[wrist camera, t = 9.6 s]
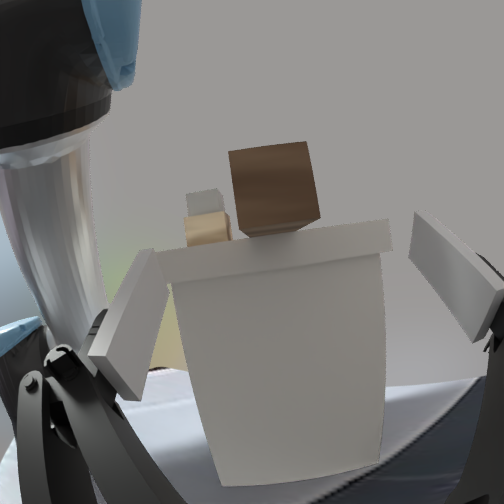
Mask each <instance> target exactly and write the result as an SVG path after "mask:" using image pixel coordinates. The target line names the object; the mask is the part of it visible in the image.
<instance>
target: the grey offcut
mask: <svg viewBox="0 0 504 504" xmlns="http://www.w3.org/2000/svg"><path fill="white" fill-rule="evenodd" d="M186 200H187V208H188V217H191V216H196V215H202V214H208V213H214V212H220V211H224V212H225V209H224V201H223V196H222V194H221V193H220V192H219V190H218V189H217V188H216V189H211V190H205V191H199V192H194V193H189V194H186Z"/></svg>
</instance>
